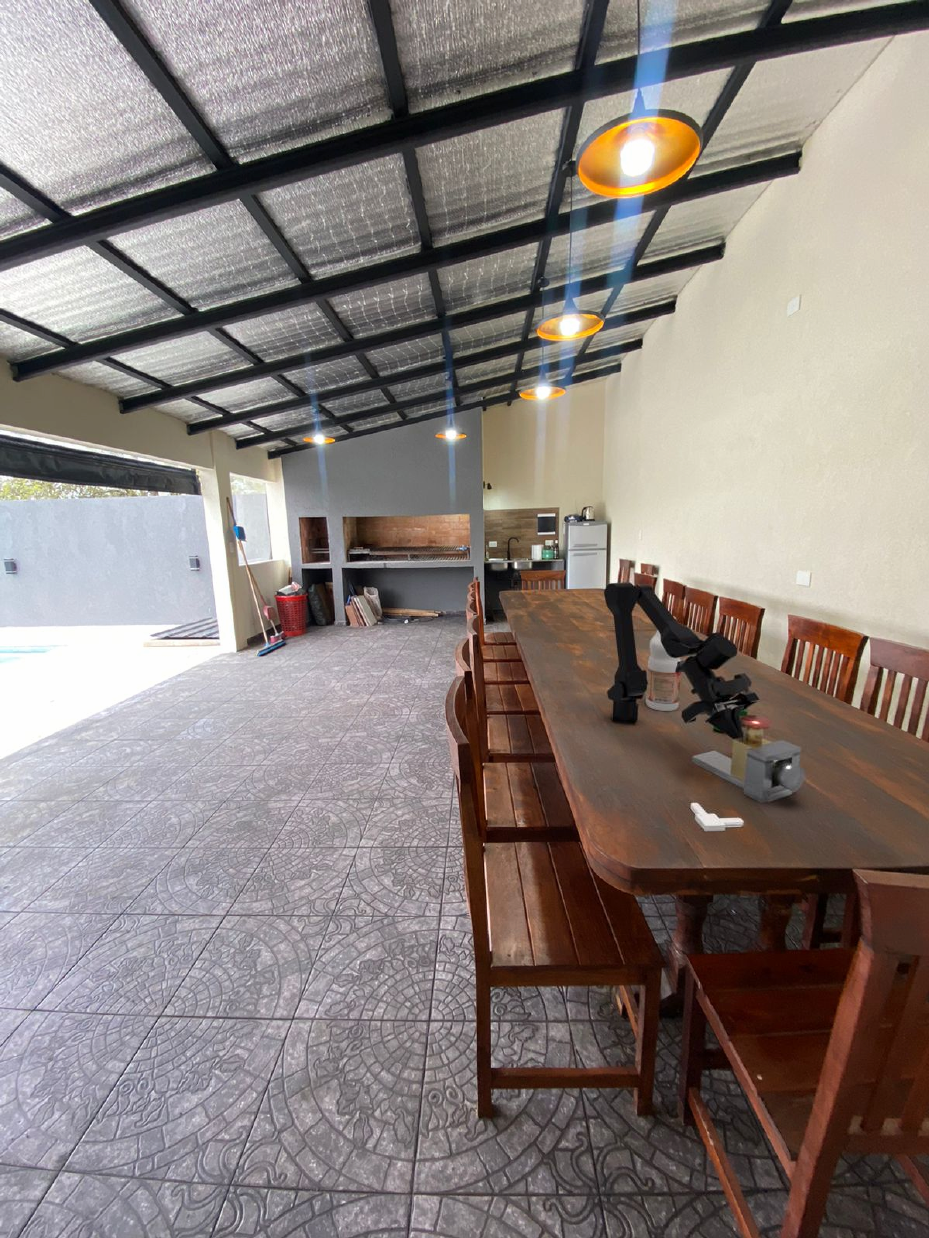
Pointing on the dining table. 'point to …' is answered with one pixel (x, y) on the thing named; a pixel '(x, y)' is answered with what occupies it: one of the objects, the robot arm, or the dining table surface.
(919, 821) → the dining table surface
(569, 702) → the dining table surface
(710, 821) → the corner connector
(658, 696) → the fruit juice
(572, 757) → the dining table surface
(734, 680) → the robot arm
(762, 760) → the grey ball socket brick
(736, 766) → the valve
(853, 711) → the dining table surface
